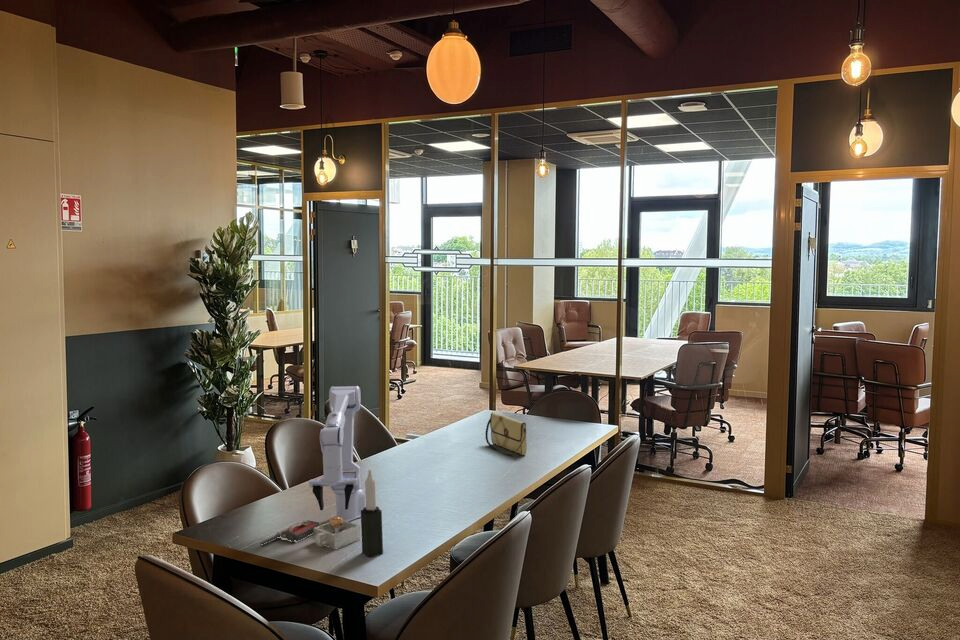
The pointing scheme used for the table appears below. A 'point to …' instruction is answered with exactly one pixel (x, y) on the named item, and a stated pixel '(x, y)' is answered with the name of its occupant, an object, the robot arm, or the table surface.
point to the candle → (371, 521)
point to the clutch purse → (507, 433)
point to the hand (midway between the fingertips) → (334, 508)
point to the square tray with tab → (336, 535)
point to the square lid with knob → (336, 522)
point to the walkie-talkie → (296, 531)
